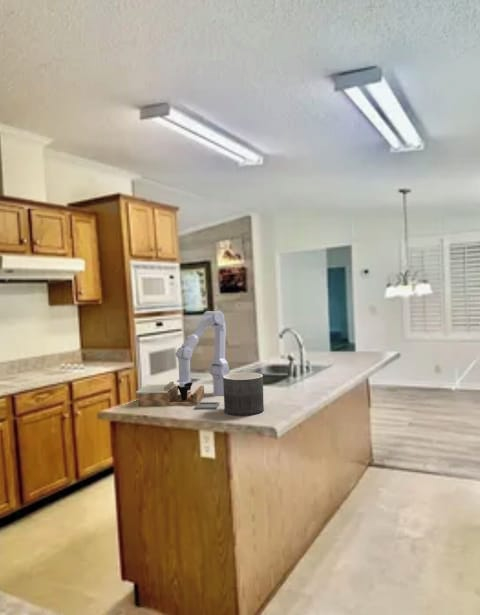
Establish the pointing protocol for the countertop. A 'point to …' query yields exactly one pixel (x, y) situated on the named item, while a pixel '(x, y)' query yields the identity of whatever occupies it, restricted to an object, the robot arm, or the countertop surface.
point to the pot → (187, 397)
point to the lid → (157, 388)
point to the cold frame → (169, 398)
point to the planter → (243, 393)
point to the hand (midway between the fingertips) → (185, 398)
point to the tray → (207, 405)
